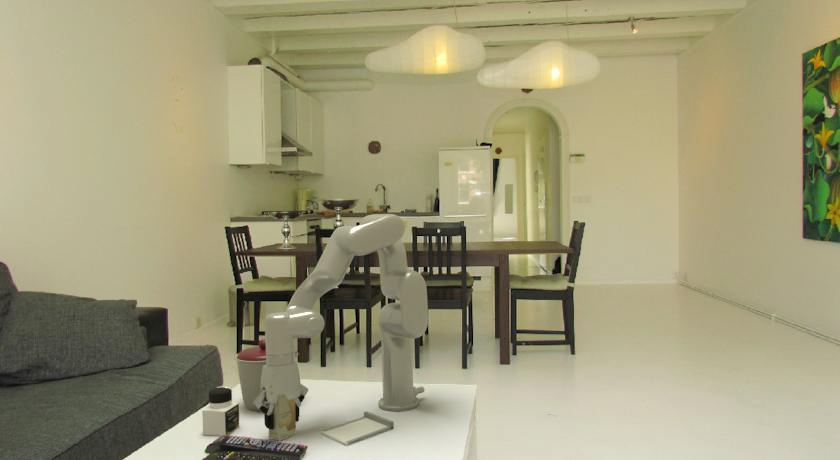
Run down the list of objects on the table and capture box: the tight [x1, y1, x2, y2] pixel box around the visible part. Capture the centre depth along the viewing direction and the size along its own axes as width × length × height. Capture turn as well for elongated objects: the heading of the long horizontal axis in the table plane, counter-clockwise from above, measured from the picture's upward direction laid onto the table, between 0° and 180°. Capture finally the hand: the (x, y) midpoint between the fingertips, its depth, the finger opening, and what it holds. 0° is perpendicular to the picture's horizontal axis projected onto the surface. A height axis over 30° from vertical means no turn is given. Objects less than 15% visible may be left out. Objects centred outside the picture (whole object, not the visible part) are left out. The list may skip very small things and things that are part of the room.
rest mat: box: [319, 411, 395, 447], centre depth 153 cm, size 16×12×2 cm
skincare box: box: [268, 394, 297, 442], centre depth 151 cm, size 6×4×12 cm
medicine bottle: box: [201, 386, 240, 437], centre depth 155 cm, size 7×7×12 cm
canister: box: [234, 338, 266, 412], centre depth 176 cm, size 18×18×21 cm
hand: (282, 423), depth 151 cm, fingers closed on skincare box, 6 cm apart
